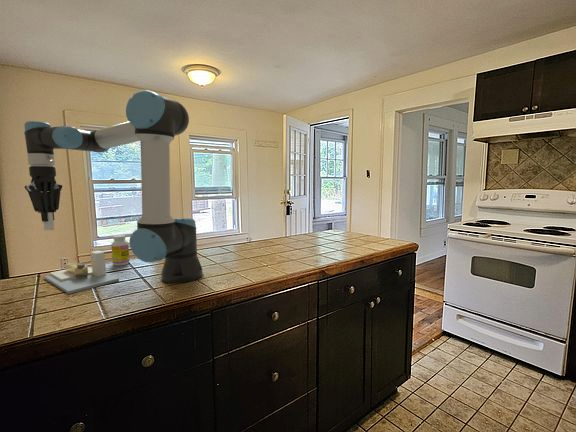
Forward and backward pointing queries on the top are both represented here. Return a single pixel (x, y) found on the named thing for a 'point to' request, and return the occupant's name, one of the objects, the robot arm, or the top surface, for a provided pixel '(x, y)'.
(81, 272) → the bar
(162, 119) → the robot arm
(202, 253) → the top surface
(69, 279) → the mounted latch plate
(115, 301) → the top surface
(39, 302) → the top surface
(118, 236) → the supplement bottle
